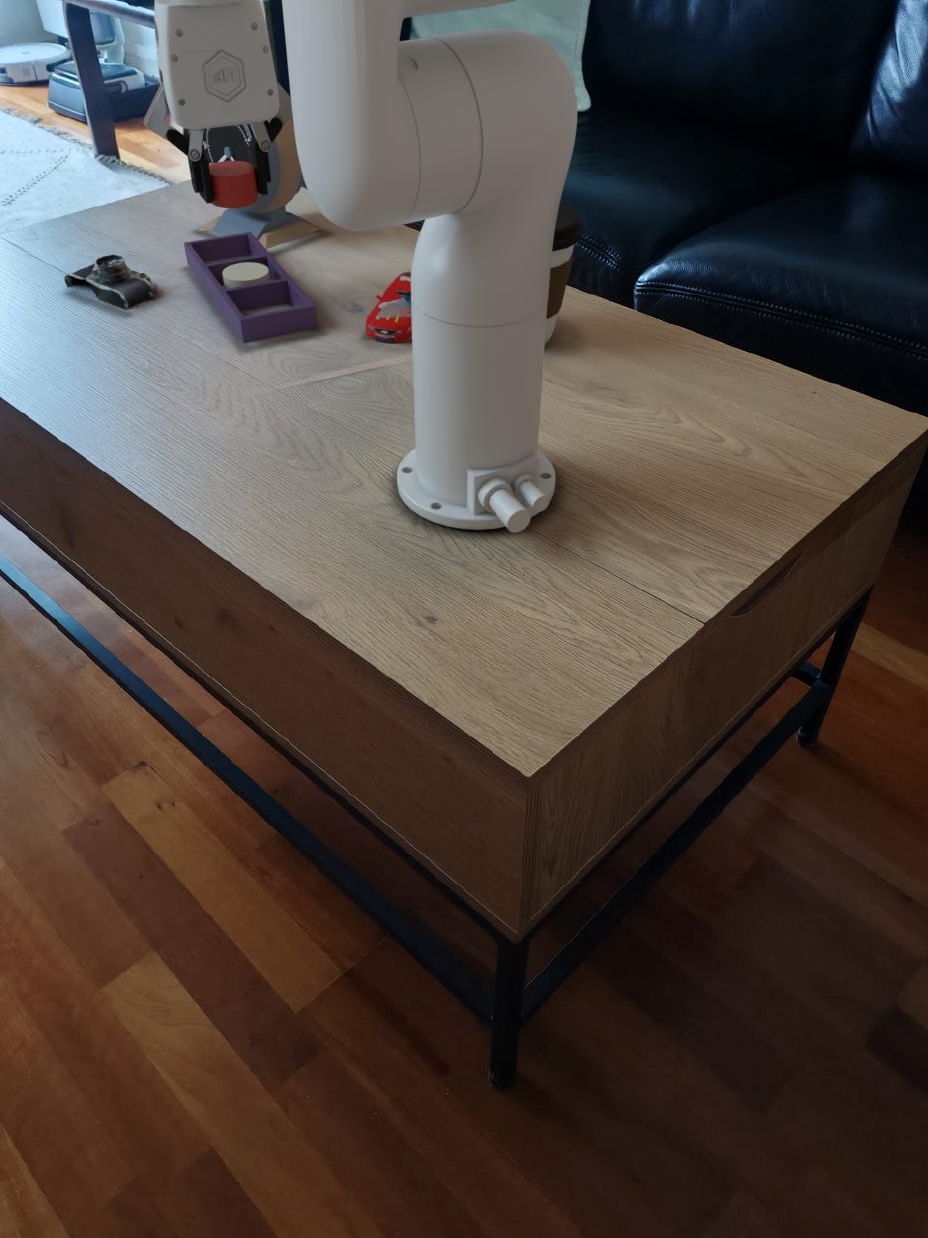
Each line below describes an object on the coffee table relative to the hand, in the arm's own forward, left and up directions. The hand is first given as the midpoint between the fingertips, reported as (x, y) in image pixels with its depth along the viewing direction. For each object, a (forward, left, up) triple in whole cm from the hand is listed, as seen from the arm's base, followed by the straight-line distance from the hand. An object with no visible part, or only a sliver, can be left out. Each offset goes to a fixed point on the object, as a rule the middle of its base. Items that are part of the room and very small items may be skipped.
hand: (233, 192), depth 97 cm
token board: (0, 0, -11) cm, 11 cm away
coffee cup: (-20, -22, -11) cm, 32 cm away
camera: (+7, +13, -11) cm, 18 cm away
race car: (-12, -13, -11) cm, 21 cm away
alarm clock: (+18, -7, -11) cm, 22 cm away
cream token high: (0, 0, -9) cm, 9 cm away
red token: (0, 0, -1) cm, 1 cm away
